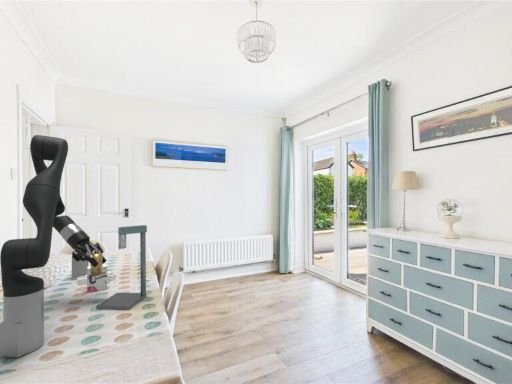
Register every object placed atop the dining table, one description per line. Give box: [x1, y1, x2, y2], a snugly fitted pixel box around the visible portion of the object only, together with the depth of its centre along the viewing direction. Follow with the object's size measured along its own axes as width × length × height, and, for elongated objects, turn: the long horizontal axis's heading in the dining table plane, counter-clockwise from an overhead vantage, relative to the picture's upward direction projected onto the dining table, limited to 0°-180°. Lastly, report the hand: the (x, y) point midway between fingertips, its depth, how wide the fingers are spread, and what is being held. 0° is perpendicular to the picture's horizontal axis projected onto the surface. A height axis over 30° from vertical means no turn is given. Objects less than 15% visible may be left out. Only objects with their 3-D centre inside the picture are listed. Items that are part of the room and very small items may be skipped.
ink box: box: [86, 263, 109, 294], centre depth 127 cm, size 8×5×12 cm, turn 123°
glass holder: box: [70, 253, 89, 281], centre depth 148 cm, size 9×14×15 cm, turn 132°
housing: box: [89, 250, 104, 276], centre depth 113 cm, size 4×4×10 cm
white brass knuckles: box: [76, 271, 117, 286], centre depth 142 cm, size 3×18×15 cm
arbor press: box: [95, 224, 148, 311], centre depth 112 cm, size 15×15×32 cm
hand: (100, 263), depth 113 cm, fingers closed on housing, 4 cm apart
